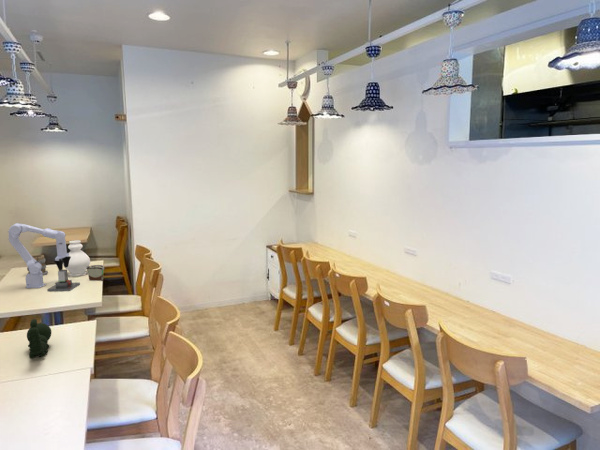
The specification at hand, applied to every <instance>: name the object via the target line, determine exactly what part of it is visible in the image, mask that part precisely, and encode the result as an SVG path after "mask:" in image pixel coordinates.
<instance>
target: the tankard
mask: <svg viewBox="0 0 600 450" xmlns="http://www.w3.org/2000/svg"><path fill="white" fill-rule="evenodd" d="M31 256H32V257H33V258H34V259H35V260H36V261H37V262H39V263H40V264H41V265H42V269H41V271H42V274H43V277H45V276H47V275H48V273H49V272H48V270H47V264H46V261H47V260H46V257H45V255H44V254H34V255H31ZM26 269H27V274H30V272H29V268H28V267H27V266H26ZM27 274H26V275H27Z"/></svg>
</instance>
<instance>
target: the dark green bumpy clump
mask: <svg viewBox="0 0 600 450" xmlns="http://www.w3.org/2000/svg"><path fill="white" fill-rule="evenodd" d="M51 336H52V328H51V327H50V326H49V325H48V324H46V323H42V322H39V323H38V320H37V319H36V318H33V319H31V320H30V323H29V328H28V330H27V332H26V339H27V341H28V345H27V346H28V348H29V349H28V350H29V357H28V358H29V360H30V359H31V360H32V359H34V358H36V357H38V356H39V357H40V358H41V357H42V358H44V357H45V356H46V355H47V354H48V352H49V351H48V349H49V348H50V344H49V343H48V342H49V340H50V338H51Z"/></svg>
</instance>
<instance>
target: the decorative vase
mask: <svg viewBox="0 0 600 450" xmlns="http://www.w3.org/2000/svg"><path fill="white" fill-rule="evenodd" d="M68 242H69V245H68V247H67V248H68V249H69V252H68V253H69V256H71V258H70V260H69V265H68V267H64V263H63V267H64V269H65V270H67V272H69V273H68V277H80V276H85V275H88V271H87V270H86V268H87V266H91V259H90V257H89V255H87V253H86V252H84V251H83V249H82V248H83V244H82V243H81V242H82V241H81V240H80V239H76V240H70V241H68ZM81 249H82V250H81Z"/></svg>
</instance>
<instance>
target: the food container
mask: <svg viewBox="0 0 600 450" xmlns="http://www.w3.org/2000/svg"><path fill="white" fill-rule="evenodd" d="M104 270H105V266H104V265H102V264H90V265H89V266H87V268H86V270H85V271H86V272H87V276H88V280H89V281H91V282H92V281H93V282H95V281H99V282H102V281H104Z"/></svg>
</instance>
